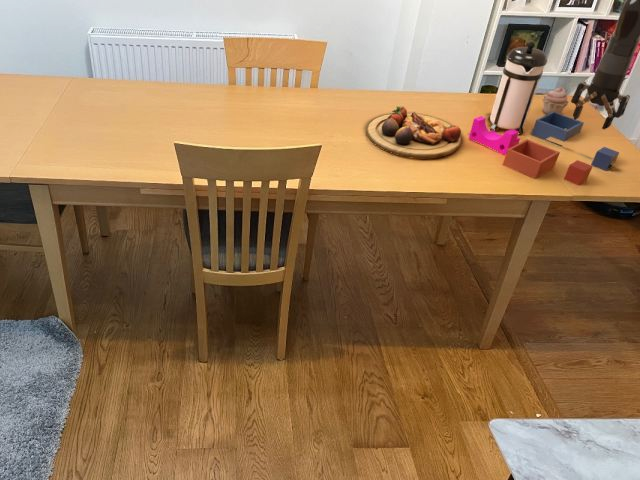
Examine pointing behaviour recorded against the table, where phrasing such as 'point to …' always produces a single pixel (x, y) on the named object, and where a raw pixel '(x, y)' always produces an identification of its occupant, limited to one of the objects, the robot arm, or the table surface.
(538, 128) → the blue bin
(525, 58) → the coffee press
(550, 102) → the cupcake
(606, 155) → the blue block
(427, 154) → the wooden plate
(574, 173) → the red block
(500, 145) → the magenta cradle bracket
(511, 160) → the red bin
